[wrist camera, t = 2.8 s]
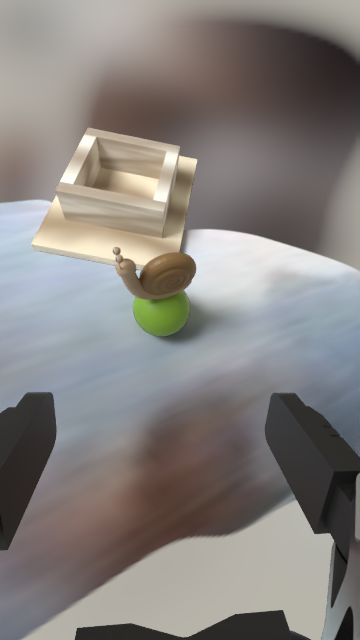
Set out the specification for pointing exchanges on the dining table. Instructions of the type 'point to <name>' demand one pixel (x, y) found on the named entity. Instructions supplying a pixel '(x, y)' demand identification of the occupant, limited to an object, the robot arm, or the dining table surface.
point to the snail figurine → (159, 291)
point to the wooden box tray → (119, 200)
